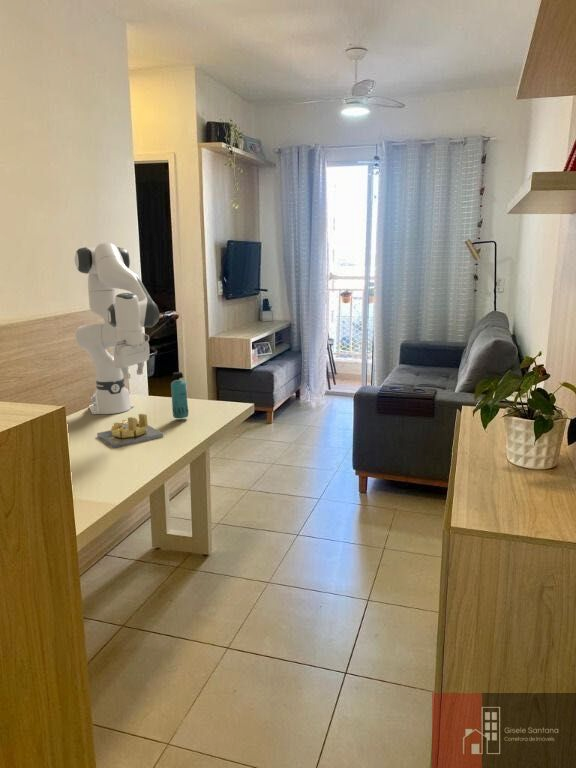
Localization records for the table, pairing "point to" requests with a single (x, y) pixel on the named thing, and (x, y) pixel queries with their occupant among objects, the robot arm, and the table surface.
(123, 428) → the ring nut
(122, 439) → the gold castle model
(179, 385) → the beverage bottle
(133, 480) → the table surface
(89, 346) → the robot arm
